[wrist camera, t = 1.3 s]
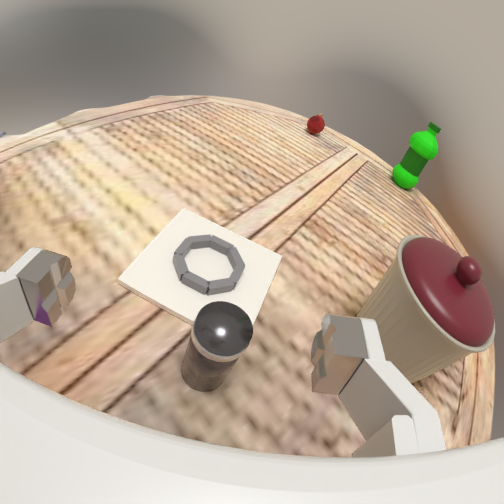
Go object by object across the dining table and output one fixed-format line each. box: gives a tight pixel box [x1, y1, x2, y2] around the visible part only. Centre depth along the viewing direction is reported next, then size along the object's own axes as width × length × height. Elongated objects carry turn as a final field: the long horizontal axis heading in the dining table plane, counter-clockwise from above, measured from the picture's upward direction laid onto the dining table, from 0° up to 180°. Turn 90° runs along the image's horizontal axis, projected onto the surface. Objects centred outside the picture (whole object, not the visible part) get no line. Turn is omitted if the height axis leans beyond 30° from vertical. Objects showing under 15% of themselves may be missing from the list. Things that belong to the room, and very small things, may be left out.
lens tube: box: [181, 301, 253, 392], centre depth 29 cm, size 5×5×11 cm
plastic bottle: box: [393, 122, 441, 189], centre depth 87 cm, size 10×10×25 cm
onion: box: [307, 114, 325, 134], centre depth 96 cm, size 6×6×8 cm
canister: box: [357, 235, 495, 383], centre depth 35 cm, size 18×18×21 cm
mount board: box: [118, 208, 282, 325], centre depth 43 cm, size 18×18×2 cm
